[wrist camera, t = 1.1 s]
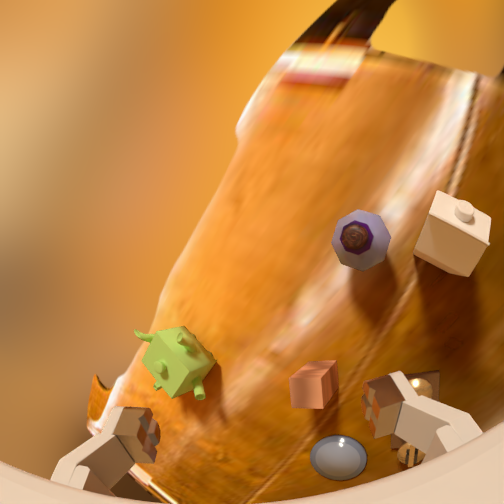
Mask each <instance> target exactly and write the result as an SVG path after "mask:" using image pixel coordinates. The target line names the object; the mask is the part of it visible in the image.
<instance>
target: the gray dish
mask: <svg viewBox="0 0 504 504" xmlns="http://www.w3.org/2000/svg"><path fill="white" fill-rule="evenodd" d="M310 460H311V464H312V466H313V467H314V469H315V470H316V471H317V472H318V473H319V474H321V475H322V476H324V477H326V478H329V479H333V480H347V479H350V478H353V477H355V476H357V475H358V474H360V473H361V472H362V470H363V469H364V467H365V465H366V462H367V453H366V450H365V449H364V447H363V446H362V444H360V443H359V442H358V441H357V440H355V439H353V438H351V437H348V436H343V435H332V436H327V437H325V438H323V439H321V440H319V441H318V442H317V443H316V444H315V446H314V447H313V449H312V451H311V454H310Z"/></svg>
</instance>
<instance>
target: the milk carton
mask: <svg viewBox="0 0 504 504" xmlns="http://www.w3.org/2000/svg"><path fill="white" fill-rule="evenodd" d="M490 224H491V218H490V217H489V216H487V215H486V214H484V213H482V212H480V211H479V210H477V209H475V208H473V206H472V205H471V204H470V203H469V202H467V201H464V200H457V199H455V198H453V197H451V196H449V195H447V194H445V193H443V192H441V191H438V190H437V192H436V195H435V198H434V201H433V203H432V206H431V209H430V211H429V214H428V216H427V219H426V222H425V224H424V227H423V229H422V232H421V234H420V237H419V239H418V241H417V244H416V246H415V249H414V252H413V254H414V255H415V256H417V257H419V258H421V259H423V260H425V261H427V262H429V263H431V264H433V265H435V266H436V267H438V268H440V269H442V270H444V271H446V272H448V273H450V274H455V275H460V276H466V277H469V276H470V274H471V273H472V271H473V269H474V268H475V266H476V264H477V263H478V261H479V259H480V258H481V256H482V254H483V252H484V251H485V249H486V247H487V246H489V245H490V243H489V242H488V239H489V232H490Z"/></svg>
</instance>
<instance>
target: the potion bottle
mask: <svg viewBox="0 0 504 504" xmlns="http://www.w3.org/2000/svg"><path fill="white" fill-rule="evenodd" d="M390 239H391V236H390V234H389V232H388V230H387V228H386V226H385V224H384V222H383V221H382V219H381V217H380V216H379V215H376V214H372V213H369V212H366V211H362V210H359V209H357V210H356V211H354V212H352V213H350V214H349V215H347V216H345V217H343V218H342V219H340V220H338V222H337V226H336V229H335V232H334V236H333V239H332V242H331V243H332V245H333V247H334V250H335V252H336V254H337V256H338V258H339V260H340V262H341V264H343V265H346V266H349V267H352V268H354V269H357V270H360V271H365V270H367V269H369V268H371V267H373V266H375V265H376V264H378V263H380V262H382V261H384V259H385V255H386V252H387V249H388V246H389V242H390Z"/></svg>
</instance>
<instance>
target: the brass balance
mask: <svg viewBox="0 0 504 504" xmlns="http://www.w3.org/2000/svg"><path fill="white" fill-rule="evenodd" d="M404 376H405V377H406V379H407V380H408V381H409V383H410V384H411V386H412V387H413V389H414V390H415V392H416V393H417V395H418V396H421V395H423V396H425V397H428V398H430V399H433V400H435V401H437V402H439V378H440V372H439V370H436V371H429V372H422V373H414V374H405V375H404ZM391 448H399V450H398V454H397V456H398V459H399V461H400V462H402V463H404V464H408V467H413V464H416V463H418V462H420V461H421V460H422V459H423V458H424V457H425V455H426V454H425V453H424V452H422V451H420V450H419V449H417V448H416V447H414V446H412V445H411V444H409V443H408V442H406V441H405V440H403V439H402V438H400V437H398V436H397V435H395V434H394V433H392V434H391Z"/></svg>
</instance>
